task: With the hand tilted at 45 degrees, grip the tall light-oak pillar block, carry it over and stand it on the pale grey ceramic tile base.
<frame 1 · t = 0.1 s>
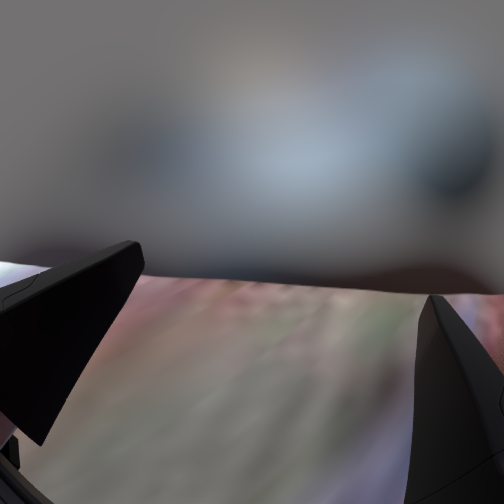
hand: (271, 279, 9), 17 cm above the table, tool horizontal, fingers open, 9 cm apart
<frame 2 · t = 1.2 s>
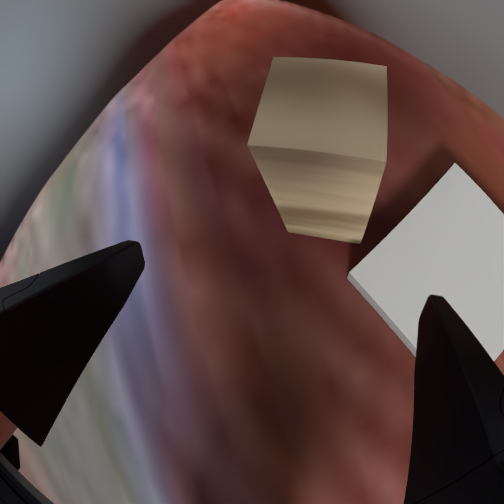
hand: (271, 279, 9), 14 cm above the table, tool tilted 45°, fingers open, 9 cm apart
oak block: (329, 203, 23), on the table
tile base: (454, 281, 19), on the table
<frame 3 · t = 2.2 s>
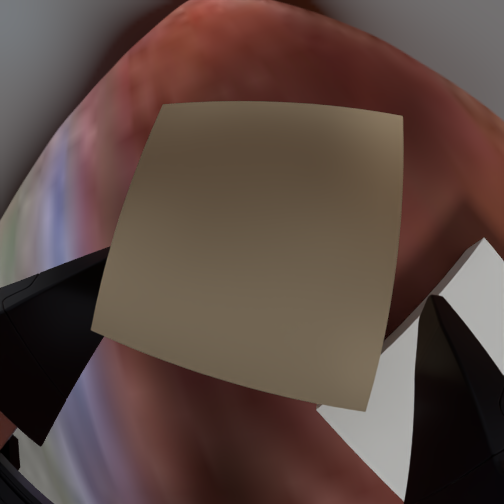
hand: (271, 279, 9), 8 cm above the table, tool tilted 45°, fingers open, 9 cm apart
oak block: (301, 294, 17), on the table
tile base: (460, 395, 13), on the table
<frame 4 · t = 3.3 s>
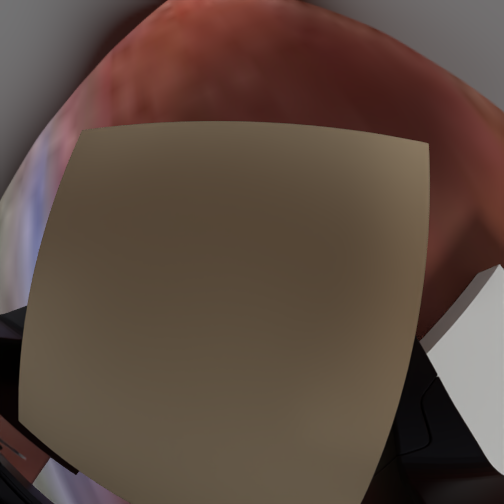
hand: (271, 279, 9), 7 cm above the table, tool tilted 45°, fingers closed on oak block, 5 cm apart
oak block: (290, 326, 15), on the table, touching gripper
tile base: (462, 432, 11), on the table
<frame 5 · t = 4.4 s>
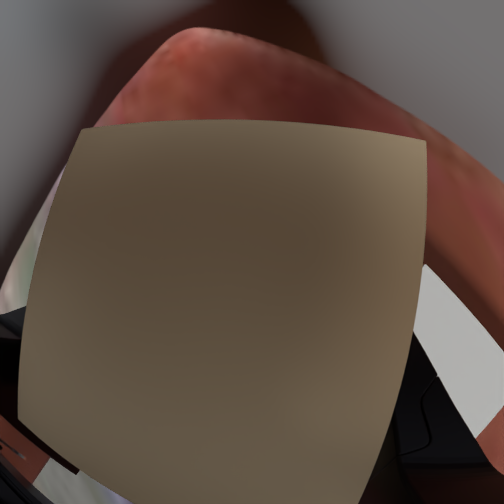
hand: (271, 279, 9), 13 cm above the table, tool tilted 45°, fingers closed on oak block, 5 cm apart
oak block: (289, 325, 15), point 7 cm above the table, touching gripper
tile base: (413, 388, 18), on the table
when the fingers open (10 cm above the table, at t = 6.0 s): oak block stays where it is, resting on tile base.
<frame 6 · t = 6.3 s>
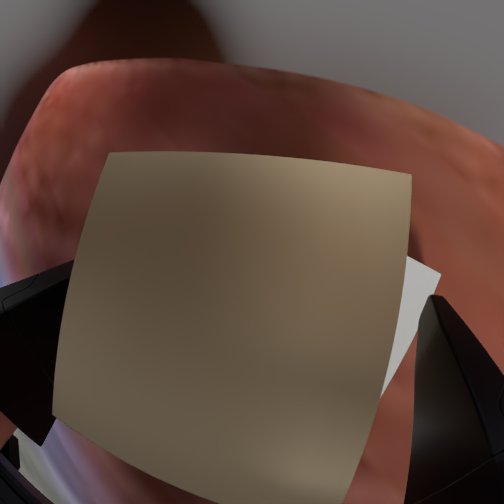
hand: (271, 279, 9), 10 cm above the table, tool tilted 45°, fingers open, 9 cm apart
oak block: (292, 325, 16), point 2 cm above the table, touching tile base
tile base: (297, 325, 18), on the table
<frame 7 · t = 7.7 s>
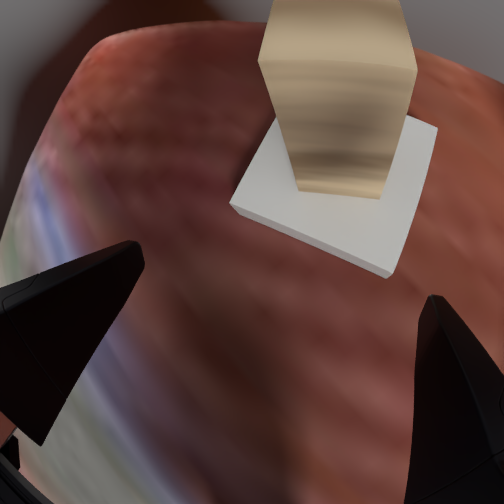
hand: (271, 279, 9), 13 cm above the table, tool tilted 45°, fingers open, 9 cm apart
oak block: (341, 159, 20), point 2 cm above the table, touching tile base
tile base: (341, 175, 23), on the table
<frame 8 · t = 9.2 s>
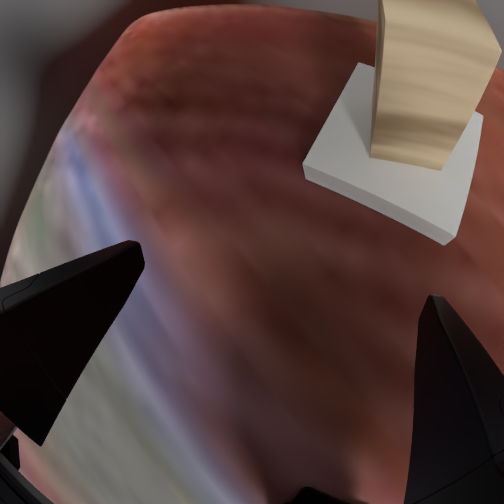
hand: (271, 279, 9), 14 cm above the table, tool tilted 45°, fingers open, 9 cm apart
oak block: (405, 133, 20), point 2 cm above the table, touching tile base
tile base: (400, 150, 22), on the table
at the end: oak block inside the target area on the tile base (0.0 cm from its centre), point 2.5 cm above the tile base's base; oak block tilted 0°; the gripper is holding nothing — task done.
